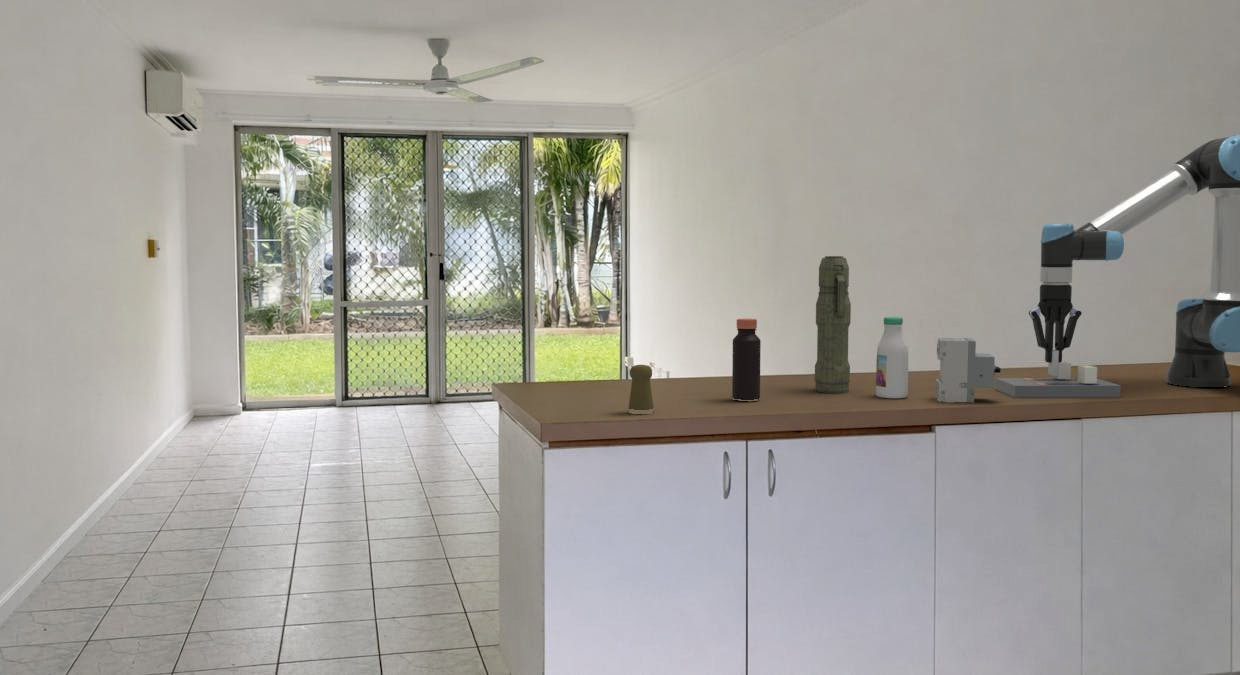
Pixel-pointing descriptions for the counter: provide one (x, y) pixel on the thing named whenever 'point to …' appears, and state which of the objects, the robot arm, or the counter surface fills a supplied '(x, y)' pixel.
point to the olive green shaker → (641, 388)
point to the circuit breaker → (962, 370)
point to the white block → (1087, 374)
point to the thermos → (833, 326)
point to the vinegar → (746, 361)
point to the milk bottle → (892, 361)
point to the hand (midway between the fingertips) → (1052, 375)
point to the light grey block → (1064, 370)
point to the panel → (1056, 388)
